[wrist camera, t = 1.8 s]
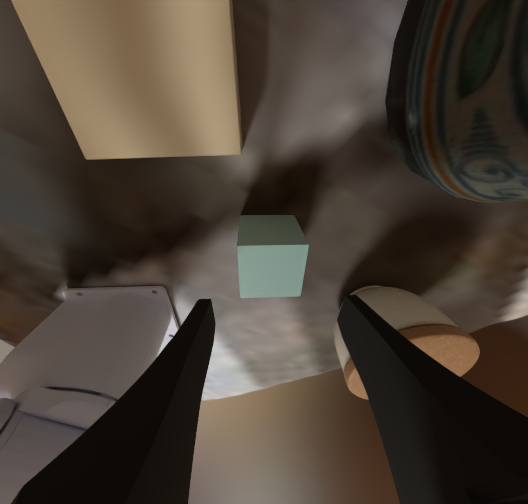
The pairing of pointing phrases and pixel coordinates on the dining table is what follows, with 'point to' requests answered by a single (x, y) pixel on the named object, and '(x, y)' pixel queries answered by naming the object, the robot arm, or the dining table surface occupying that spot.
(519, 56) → the beer stein
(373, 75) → the dining table surface
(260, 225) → the teal block
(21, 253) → the dining table surface
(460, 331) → the lidded jar
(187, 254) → the dining table surface
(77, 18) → the birch base block
